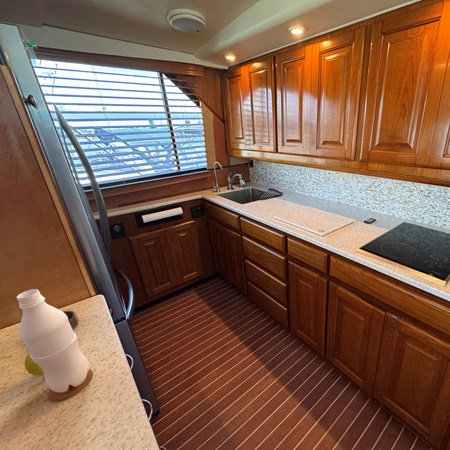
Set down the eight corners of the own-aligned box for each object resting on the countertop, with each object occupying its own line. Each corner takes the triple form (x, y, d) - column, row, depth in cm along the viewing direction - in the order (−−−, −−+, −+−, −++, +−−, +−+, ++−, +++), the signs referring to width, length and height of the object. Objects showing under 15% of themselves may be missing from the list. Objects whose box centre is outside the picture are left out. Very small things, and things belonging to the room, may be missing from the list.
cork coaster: (38, 403, 52) (37, 402, 52) (66, 370, 59) (66, 369, 59) (76, 399, 53) (76, 397, 52) (100, 367, 60) (99, 365, 60)
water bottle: (85, 389, 54) (40, 300, 45) (44, 402, 52) (-12, 309, 43) (97, 363, 60) (60, 279, 51) (61, 373, 58) (15, 287, 49)
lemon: (62, 358, 62) (50, 335, 59) (66, 370, 59) (53, 346, 56) (32, 373, 58) (17, 349, 56) (34, 388, 55) (19, 363, 52)
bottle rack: (29, 341, 68) (25, 333, 67) (55, 319, 76) (52, 311, 75) (63, 338, 69) (59, 330, 67) (85, 316, 77) (82, 309, 76)
